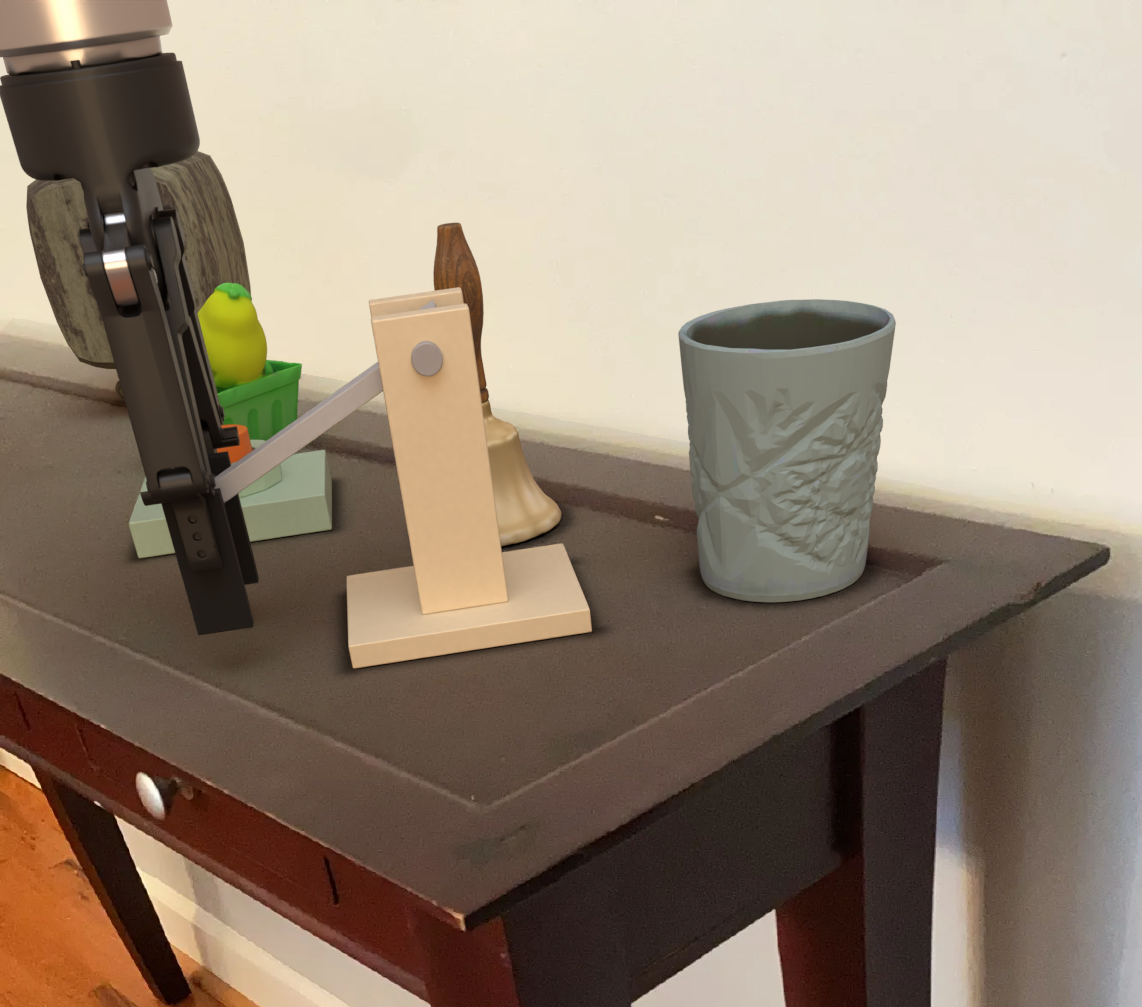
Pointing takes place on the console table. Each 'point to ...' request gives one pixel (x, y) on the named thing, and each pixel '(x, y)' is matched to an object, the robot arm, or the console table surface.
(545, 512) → the hand bell
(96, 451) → the console table surface
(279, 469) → the button block
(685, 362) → the drinking glass
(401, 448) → the lever bracket
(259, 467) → the press lever
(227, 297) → the fruit basket
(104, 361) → the tabletop clock
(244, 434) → the orange push button
